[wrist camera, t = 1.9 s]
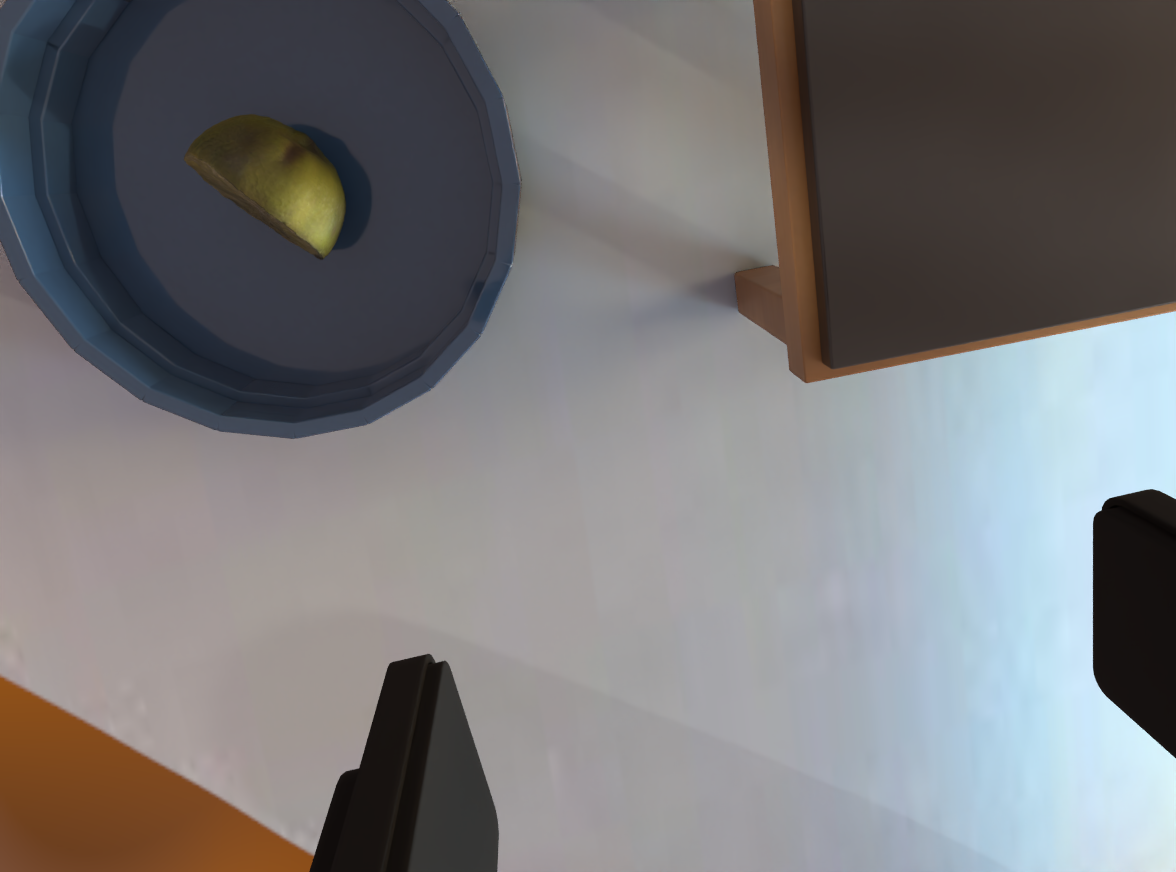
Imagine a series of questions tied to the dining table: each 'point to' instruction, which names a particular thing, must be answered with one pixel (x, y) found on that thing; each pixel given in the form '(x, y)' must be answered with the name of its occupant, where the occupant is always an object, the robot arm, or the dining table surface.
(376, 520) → the dining table surface
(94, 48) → the bowl
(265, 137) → the lime
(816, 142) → the stool
